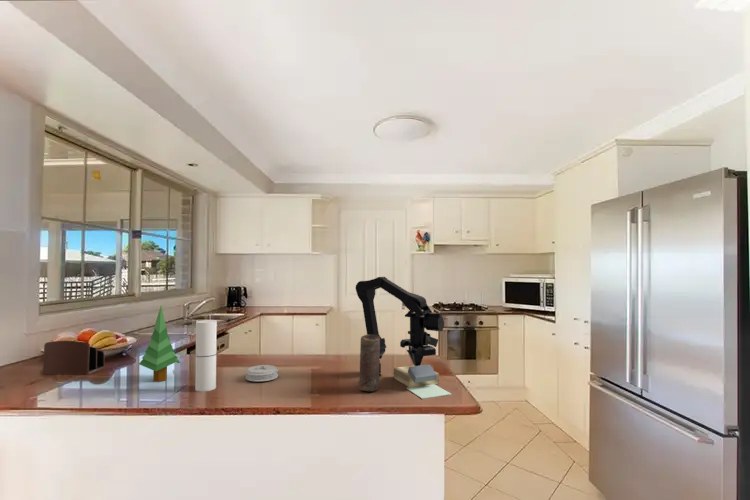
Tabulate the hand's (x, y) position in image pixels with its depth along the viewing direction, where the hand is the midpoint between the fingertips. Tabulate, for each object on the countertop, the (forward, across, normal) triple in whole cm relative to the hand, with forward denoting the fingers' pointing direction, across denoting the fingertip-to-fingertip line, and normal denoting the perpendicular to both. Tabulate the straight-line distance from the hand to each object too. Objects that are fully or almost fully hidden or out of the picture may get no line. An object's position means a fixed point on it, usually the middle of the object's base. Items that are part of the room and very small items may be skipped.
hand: (417, 369), depth 156 cm
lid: (+6, +30, +55) cm, 63 cm away
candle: (+6, 0, +20) cm, 21 cm away
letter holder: (+5, +72, +128) cm, 147 cm away
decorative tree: (+5, +43, +93) cm, 103 cm away
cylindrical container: (+6, +25, +76) cm, 80 cm away
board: (+6, +4, -1) cm, 7 cm away
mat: (+6, -10, +1) cm, 11 cm away
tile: (+2, -3, 0) cm, 4 cm away
